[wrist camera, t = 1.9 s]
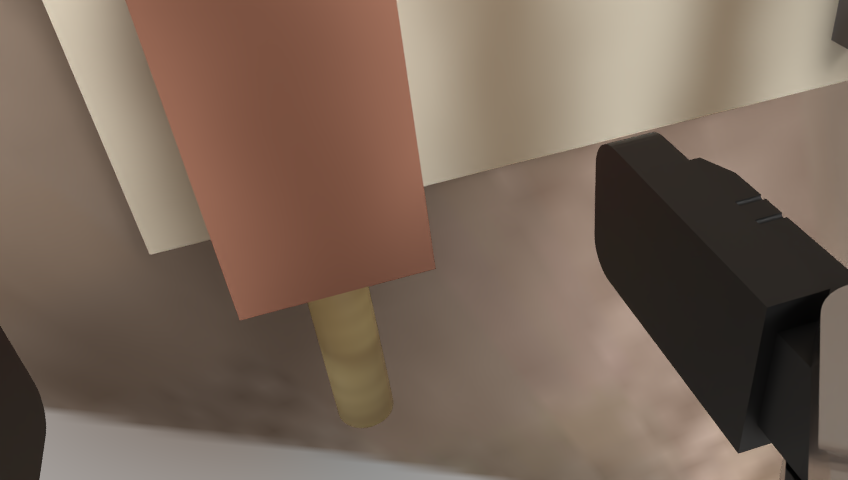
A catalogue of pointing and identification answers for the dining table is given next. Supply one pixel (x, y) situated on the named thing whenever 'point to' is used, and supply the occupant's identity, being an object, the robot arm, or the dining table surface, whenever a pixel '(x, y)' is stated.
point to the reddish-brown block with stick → (299, 162)
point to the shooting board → (487, 81)
